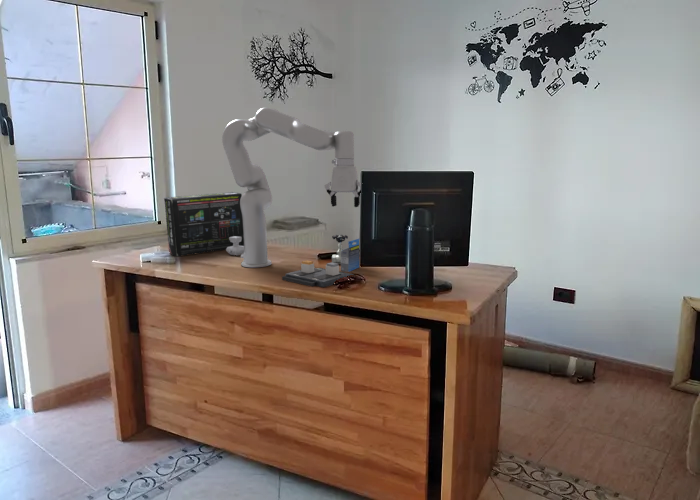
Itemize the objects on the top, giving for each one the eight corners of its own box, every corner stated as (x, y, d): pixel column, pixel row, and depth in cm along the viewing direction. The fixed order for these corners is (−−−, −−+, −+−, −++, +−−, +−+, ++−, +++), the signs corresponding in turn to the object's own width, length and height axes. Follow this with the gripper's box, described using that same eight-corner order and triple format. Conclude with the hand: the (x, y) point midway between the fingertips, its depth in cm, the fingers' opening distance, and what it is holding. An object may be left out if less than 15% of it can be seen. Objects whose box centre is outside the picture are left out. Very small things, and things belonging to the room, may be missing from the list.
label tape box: (351, 266, 230) (351, 237, 228) (360, 267, 228) (360, 238, 226) (340, 271, 223) (339, 240, 220) (349, 272, 220) (348, 241, 218)
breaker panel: (285, 278, 211) (285, 273, 211) (311, 272, 221) (311, 266, 221) (323, 287, 198) (323, 281, 198) (349, 279, 208) (349, 274, 208)
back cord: (317, 271, 223) (317, 268, 222) (320, 270, 224) (320, 267, 223) (351, 278, 211) (351, 275, 211) (354, 277, 212) (354, 274, 212)
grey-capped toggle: (325, 274, 209) (325, 263, 208) (331, 272, 211) (331, 262, 210) (333, 275, 206) (333, 265, 205) (339, 274, 208) (339, 263, 207)
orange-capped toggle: (301, 271, 213) (301, 261, 212) (307, 270, 215) (306, 260, 214) (308, 273, 210) (308, 262, 209) (314, 271, 212) (314, 261, 212)
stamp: (234, 257, 252) (233, 238, 250) (224, 255, 256) (223, 237, 254) (248, 253, 259) (247, 236, 258) (238, 252, 263) (237, 234, 261)
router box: (236, 244, 284) (233, 191, 279) (246, 247, 275) (243, 193, 270) (166, 253, 263) (162, 196, 258) (175, 257, 254) (170, 198, 249)
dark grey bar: (282, 279, 210) (282, 276, 210) (284, 279, 211) (284, 275, 211) (312, 286, 200) (312, 283, 199) (315, 285, 201) (314, 282, 200)
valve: (346, 266, 232) (346, 237, 229) (331, 265, 233) (330, 237, 231) (349, 262, 238) (349, 234, 236) (334, 262, 239) (334, 234, 237)
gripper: (320, 163, 219) (321, 206, 223) (361, 163, 213) (362, 208, 216) (328, 162, 226) (329, 204, 229) (368, 162, 220) (368, 206, 223)
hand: (345, 206), depth 223 cm, fingers open, 9 cm apart
